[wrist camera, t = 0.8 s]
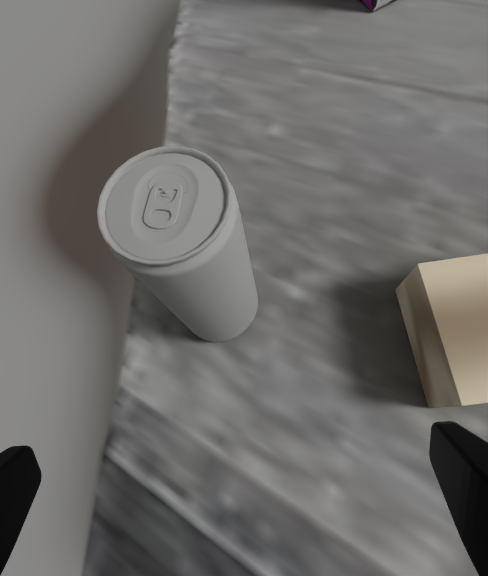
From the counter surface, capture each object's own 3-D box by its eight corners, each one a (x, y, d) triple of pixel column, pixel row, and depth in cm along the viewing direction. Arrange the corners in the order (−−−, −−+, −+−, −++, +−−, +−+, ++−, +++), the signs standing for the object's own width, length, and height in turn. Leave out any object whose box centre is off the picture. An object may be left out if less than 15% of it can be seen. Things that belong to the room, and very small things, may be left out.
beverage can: (263, 275, 24) (245, 145, 12) (253, 349, 22) (222, 275, 11) (192, 268, 24) (114, 138, 13) (177, 339, 23) (74, 260, 11)
